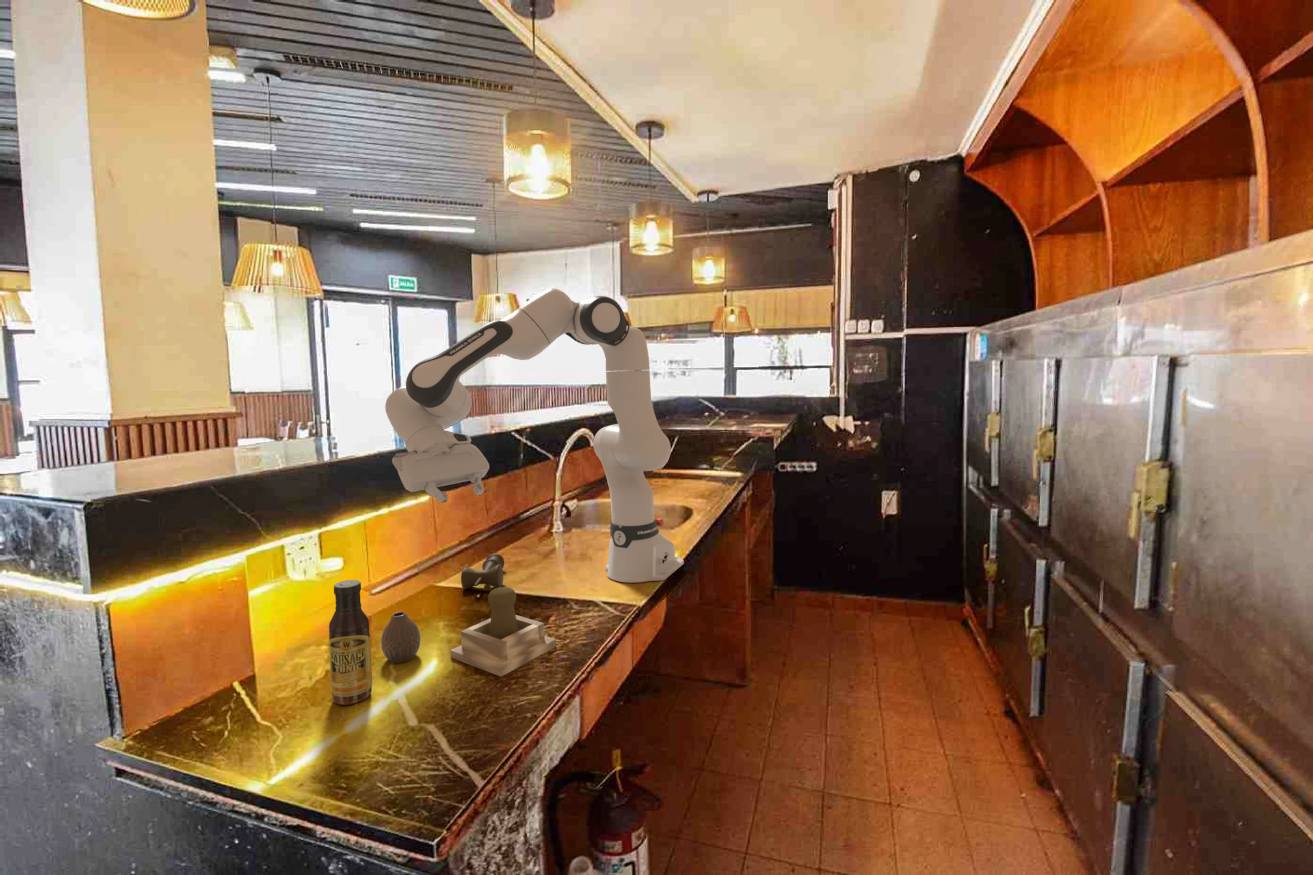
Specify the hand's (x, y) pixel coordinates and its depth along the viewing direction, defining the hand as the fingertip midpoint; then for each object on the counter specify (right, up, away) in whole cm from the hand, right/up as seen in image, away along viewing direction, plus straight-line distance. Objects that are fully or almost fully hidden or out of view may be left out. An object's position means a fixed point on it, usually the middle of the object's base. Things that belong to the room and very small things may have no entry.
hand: (463, 496), depth 134 cm
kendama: (-2, -25, +27) cm, 37 cm away
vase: (-7, -30, -14) cm, 34 cm away
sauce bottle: (-10, -31, -28) cm, 43 cm away
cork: (+12, -27, -13) cm, 33 cm away
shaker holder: (+12, -29, -13) cm, 34 cm away
